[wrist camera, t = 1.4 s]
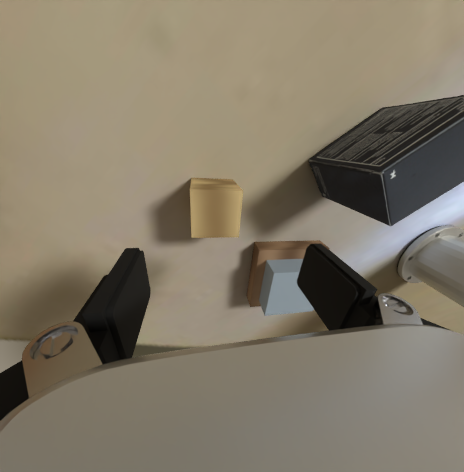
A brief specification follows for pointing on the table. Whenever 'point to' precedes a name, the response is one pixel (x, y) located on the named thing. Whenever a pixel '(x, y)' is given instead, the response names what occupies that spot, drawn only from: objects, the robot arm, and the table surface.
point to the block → (215, 208)
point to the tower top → (282, 288)
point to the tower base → (271, 252)
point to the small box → (395, 159)
